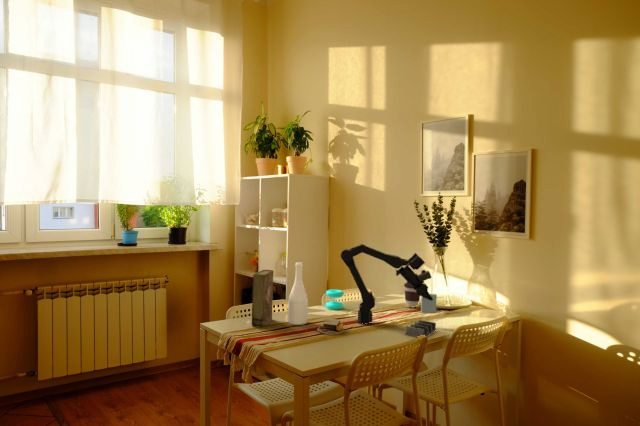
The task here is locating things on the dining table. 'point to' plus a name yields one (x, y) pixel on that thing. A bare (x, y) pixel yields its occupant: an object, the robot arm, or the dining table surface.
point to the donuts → (334, 304)
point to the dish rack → (420, 328)
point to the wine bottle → (298, 299)
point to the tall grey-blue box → (428, 304)
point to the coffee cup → (411, 295)
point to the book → (262, 297)
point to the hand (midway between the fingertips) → (431, 299)
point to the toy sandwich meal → (331, 327)
